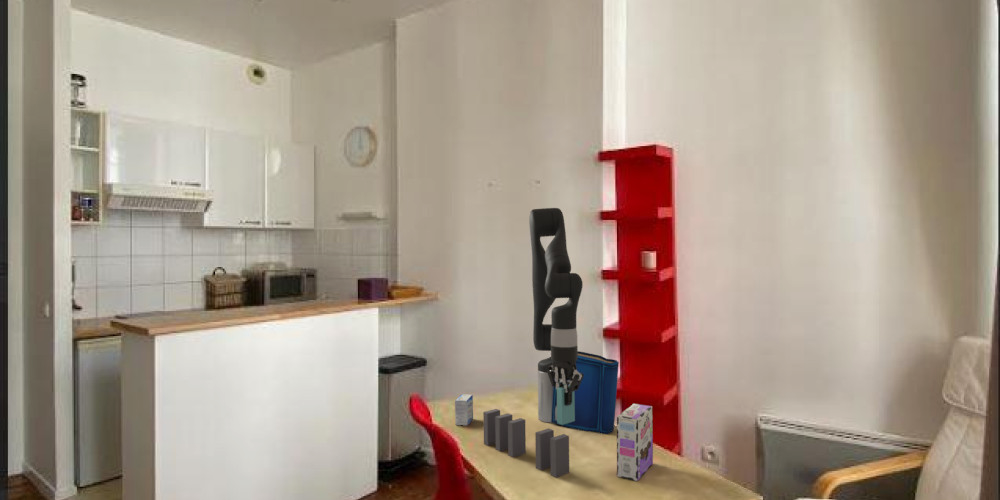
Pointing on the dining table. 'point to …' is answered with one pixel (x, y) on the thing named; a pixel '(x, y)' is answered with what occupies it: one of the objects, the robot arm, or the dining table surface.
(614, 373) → the book
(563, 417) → the domino
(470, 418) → the medicine box
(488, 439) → the domino
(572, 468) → the dining table surface
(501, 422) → the domino
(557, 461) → the domino
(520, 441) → the domino
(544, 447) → the domino
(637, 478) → the candy box
